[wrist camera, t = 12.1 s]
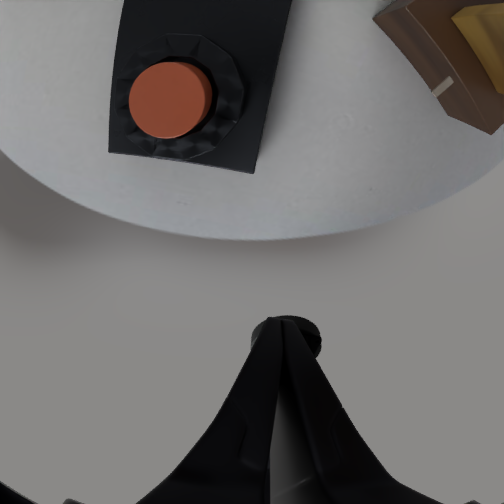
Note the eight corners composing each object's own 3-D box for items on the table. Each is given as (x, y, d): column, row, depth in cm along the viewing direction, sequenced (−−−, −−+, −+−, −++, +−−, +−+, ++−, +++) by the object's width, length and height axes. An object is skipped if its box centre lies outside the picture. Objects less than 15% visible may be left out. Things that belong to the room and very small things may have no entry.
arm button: (206, 134, 14) (199, 143, 13) (140, 126, 14) (126, 135, 13) (218, 65, 12) (211, 65, 11) (147, 60, 12) (132, 60, 10)
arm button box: (255, 162, 19) (251, 187, 15) (122, 143, 18) (93, 163, 15) (295, -17, 12) (301, -38, 8) (146, -27, 11) (117, -43, 8)
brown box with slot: (430, 132, 16) (471, 156, 12) (350, 36, 13) (379, 26, 9) (524, 43, 10) (570, 51, 6) (463, -46, 7) (505, -59, 3)
